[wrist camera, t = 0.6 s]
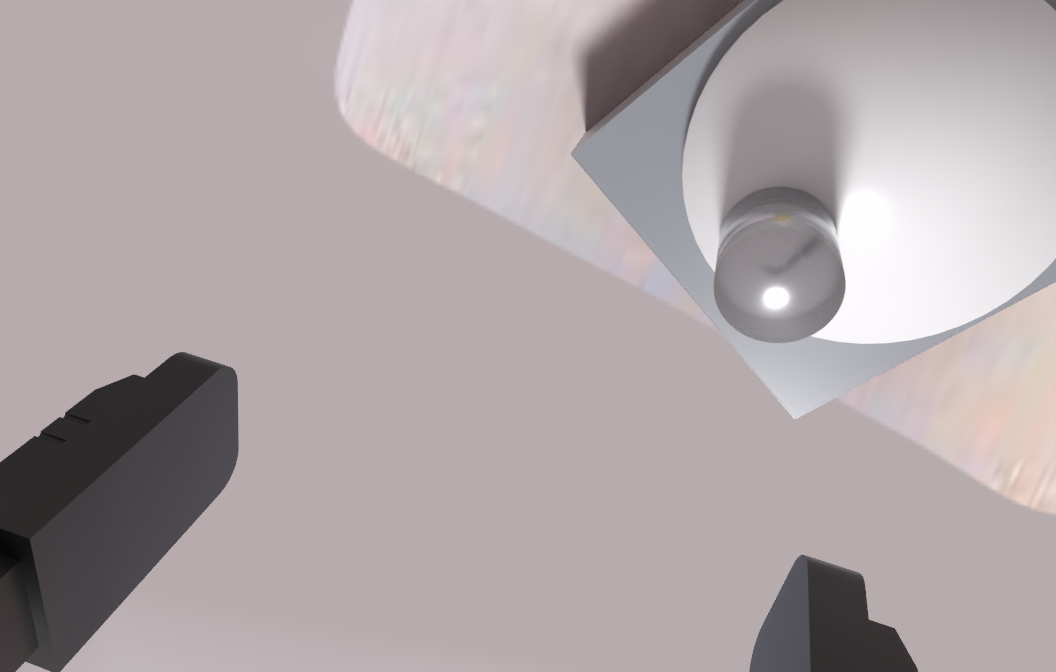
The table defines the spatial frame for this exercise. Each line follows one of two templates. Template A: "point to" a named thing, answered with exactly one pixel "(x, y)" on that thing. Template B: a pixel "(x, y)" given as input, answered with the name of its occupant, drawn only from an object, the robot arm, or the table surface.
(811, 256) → the cylinder
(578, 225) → the table surface
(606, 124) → the scale
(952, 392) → the table surface
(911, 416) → the table surface
